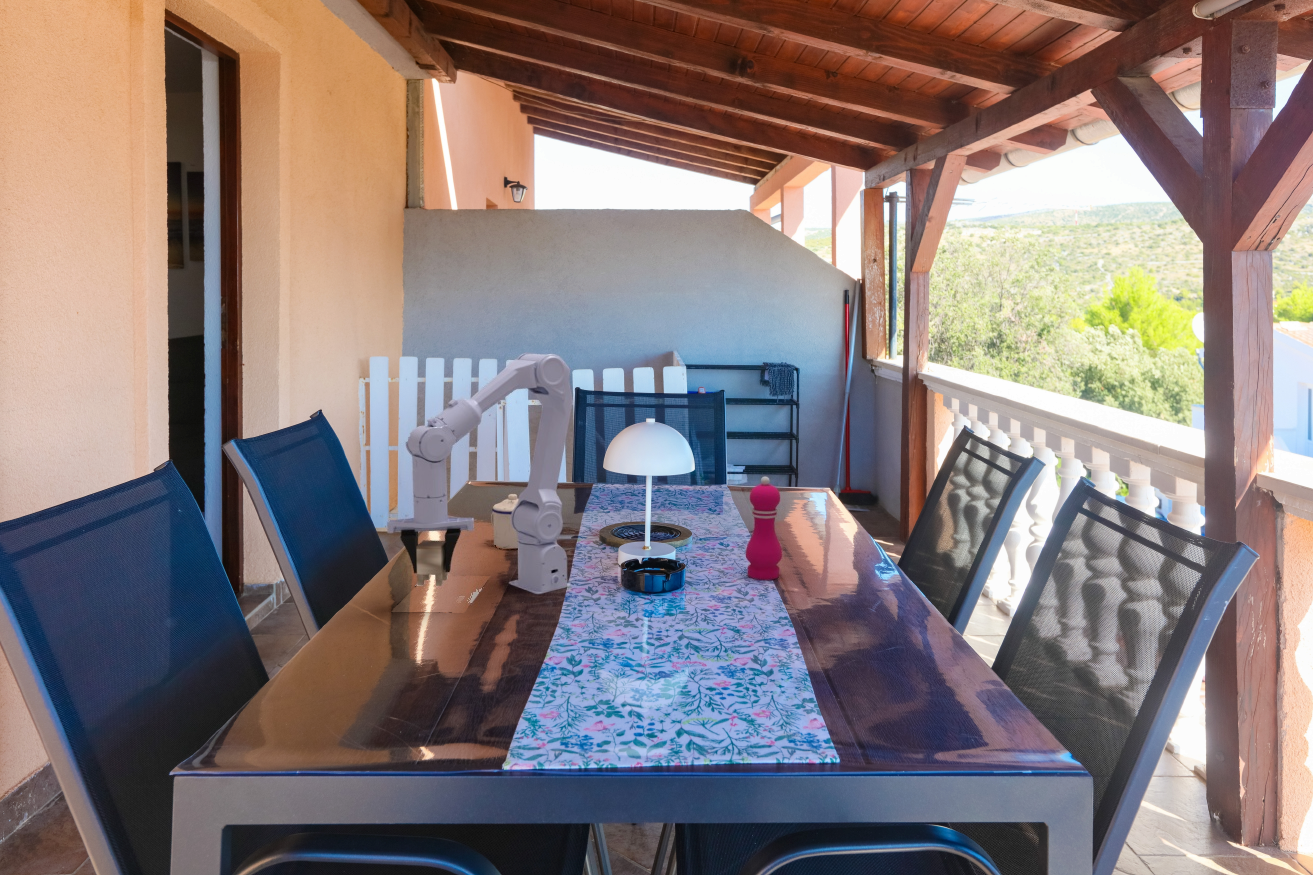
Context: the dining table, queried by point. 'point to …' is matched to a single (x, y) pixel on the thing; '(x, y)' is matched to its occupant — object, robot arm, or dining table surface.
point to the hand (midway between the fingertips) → (432, 571)
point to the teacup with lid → (504, 523)
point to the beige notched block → (431, 561)
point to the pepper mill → (764, 533)
